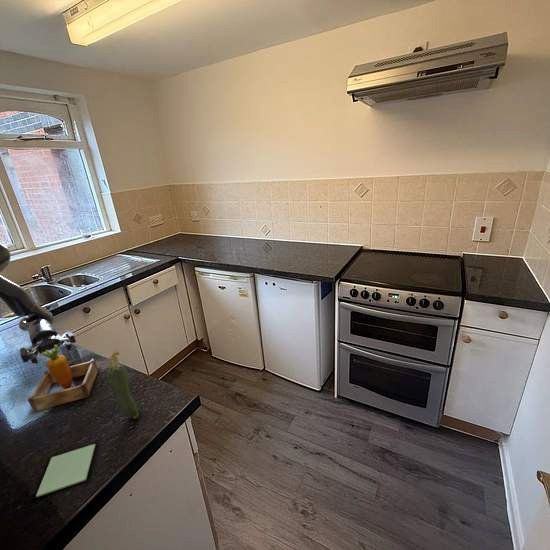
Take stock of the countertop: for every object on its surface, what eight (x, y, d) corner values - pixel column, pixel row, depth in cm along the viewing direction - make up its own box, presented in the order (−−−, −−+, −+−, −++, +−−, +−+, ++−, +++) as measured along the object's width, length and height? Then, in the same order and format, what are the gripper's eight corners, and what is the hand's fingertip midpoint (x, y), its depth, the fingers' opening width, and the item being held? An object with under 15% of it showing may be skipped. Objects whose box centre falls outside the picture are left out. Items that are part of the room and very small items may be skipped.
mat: (36, 497, 60) (35, 496, 60) (52, 458, 68) (51, 457, 68) (86, 480, 62) (85, 479, 62) (95, 444, 70) (95, 443, 70)
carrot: (58, 397, 87) (38, 355, 81) (59, 388, 91) (40, 346, 85) (78, 390, 89) (60, 348, 84) (78, 381, 93) (61, 340, 88)
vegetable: (122, 426, 75) (97, 361, 67) (123, 414, 78) (99, 351, 71) (141, 419, 76) (119, 354, 69) (141, 408, 80) (120, 345, 73)
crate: (33, 412, 82) (27, 399, 81) (50, 382, 94) (45, 371, 92) (89, 396, 86) (84, 384, 84) (98, 369, 97) (94, 358, 96)
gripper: (13, 336, 97) (18, 355, 86) (63, 318, 106) (74, 333, 95) (22, 355, 100) (29, 376, 89) (71, 336, 109) (82, 353, 98)
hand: (52, 354), depth 92 cm, fingers open, 8 cm apart
